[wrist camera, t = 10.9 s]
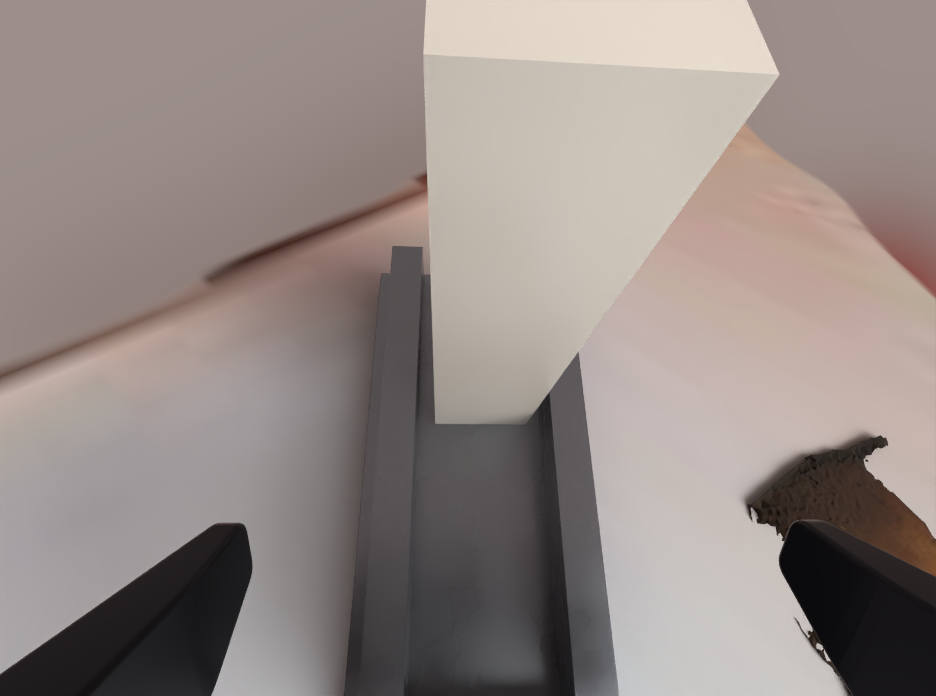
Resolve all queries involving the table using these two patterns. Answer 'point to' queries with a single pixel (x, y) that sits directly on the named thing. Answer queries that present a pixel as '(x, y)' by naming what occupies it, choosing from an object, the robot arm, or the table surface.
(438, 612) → the grey rectangular tray
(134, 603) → the robot arm
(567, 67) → the cream rectangular block
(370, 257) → the table surface
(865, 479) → the parchment
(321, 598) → the table surface
